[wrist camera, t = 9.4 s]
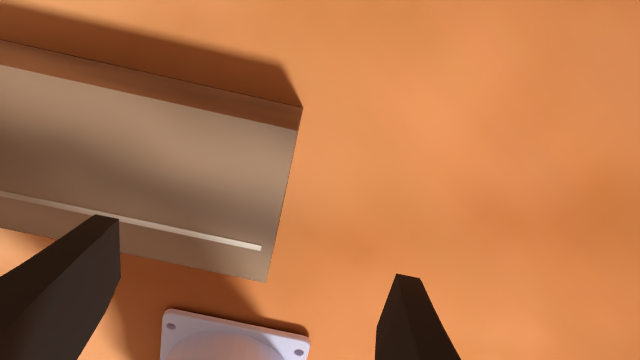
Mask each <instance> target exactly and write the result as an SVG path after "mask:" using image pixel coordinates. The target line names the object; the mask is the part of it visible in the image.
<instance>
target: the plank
mask: <svg viewBox="0 0 640 360" xmlns="http://www.w3.org/2000/svg"><path fill="white" fill-rule="evenodd" d="M302 111H303V108H301V107H297V106H292V105H288V104H283V103H279V102H275V101H270V100H266V99H261V98H257V97H252V96H248V95H243V94H239V93H235V92H230V91H226V90H221V89H217V88H212V87H208V86H203V85H199V84H195V83H190V82H186V81H181V80H177V79H172V78H168V77H163V76H159V75H155V74H150V73H146V72H141V71H137V70H132V69H128V68H123V67H119V66H115V65H110V64H106V63H101V62H97V61H92V60H88V59H83V58H79V57H75V56H70V55H66V54H61V53H57V52H52V51H48V50H43V49H39V48H35V47H30V46H26V45H21V44H17V43H12V42H8V41H3V40H0V228H5V229H10V230H14V231H19V232H24V233H29V234H34V235H38V236H43V237H48V238H53V239H60V238H61V237H63V236H64V235H65V234H67V233H68V232H70V231H71V230H73V229H74V228H75V227H77V226H78V225H80V224H81V223H83V222H84V221H86V220H87V219H88V218H90V217H91V216H93V215H95V214H97V215H102V216H107V217H112V218H117V219H119V236H120V253H125V254H129V255H134V256H139V257H144V258H149V259H153V260H158V261H163V262H168V263H173V264H177V265H182V266H187V267H192V268H197V269H201V270H206V271H211V272H216V273H221V274H225V275H230V276H235V277H240V278H245V279H249V280H254V281H259V282H264V283H266V280H267V275H268V271H269V267H270V263H271V258H272V254H273V249H274V244H275V240H276V235H277V230H278V225H279V221H280V216H281V211H282V206H283V202H284V197H285V192H286V187H287V183H288V178H289V173H290V168H291V163H292V159H293V154H294V149H295V144H296V140H297V135H298V130H299V125H300V121H301V116H302Z"/></svg>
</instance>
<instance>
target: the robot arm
mask: <svg viewBox="0 0 640 360" xmlns="http://www.w3.org/2000/svg"><path fill="white" fill-rule="evenodd" d="M120 278H121V273H120V236H119V219H117V218H112V217H107V216H102V215H97V214H95V215H93V216H91V217H90V218H88V219H87V220H86V221H84V222H83V223H81V224H80V225H78V226H77V227H75V228H74V229H73V230H71V231H70V232H68V233H67V234H65V235H64V236H63V237H61V238H60V239H58V240H57V241H55V242H54V243H52V244H51V245H49V246H48V247H46V248H45V249H43V250H42V251H40V252H39V253H37V254H36V255H34V256H33V257H31V258H30V259H28V260H27V261H25V262H24V263H22V264H21V265H19V266H17V267H16V268H14V269H13V270H11V271H9V272H8V273H6V274H4V275H3V276H1V277H0V360H77V359H78V357H79V355H80V354H81V352H82V350H83V349H84V347H85V346H86V344H87V342H88V341H89V339H90V337H91V336H92V334H93V332H94V331H95V329H96V327H97V325H98V324H99V322H100V320H101V319H102V317H103V315H104V314H105V312H106V310H107V307H108V305H109V303H110V301H111V299H112V296H113V294H114V292H115V289H116V287H117V285H118V282H119V280H120ZM171 323H172V324H171ZM298 349H300V350H298ZM309 349H310V339H309V338H308V337H306V336H304V335H299V334H294V333H289V332H285V331H280V330H275V329H270V328H265V327H260V326H255V325H250V324H245V323H241V322H236V321H231V320H226V319H221V318H216V317H211V316H206V315H201V314H197V313H192V312H187V311H182V310H177V309H167V310H166V311H165V313H164V315H163V318H162V334H161V350H160V360H306V359H307V355H308V352H309ZM375 360H461V358H460V357H459V355H458V353H457V352H456V350H455V348H454V346H453V344H452V342H451V340H450V339H449V337H448V335H447V333H446V331H445V329H444V327H443V325H442V323H441V321H440V319H439V317H438V315H437V313H436V311H435V309H434V307H433V305H432V303H431V301H430V299H429V296H428V294H427V292H426V290H425V288H424V285H423V283H422V281H421V280H420V278H416V277H411V276H406V275H401V274H396V276H395V279H394V281H393V284H392V287H391V290H390V292H389V295H388V298H387V300H386V303H385V306H384V309H383V311H382V314H381V317H380V320H379V322H378V325H377V331H376V347H375Z"/></svg>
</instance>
